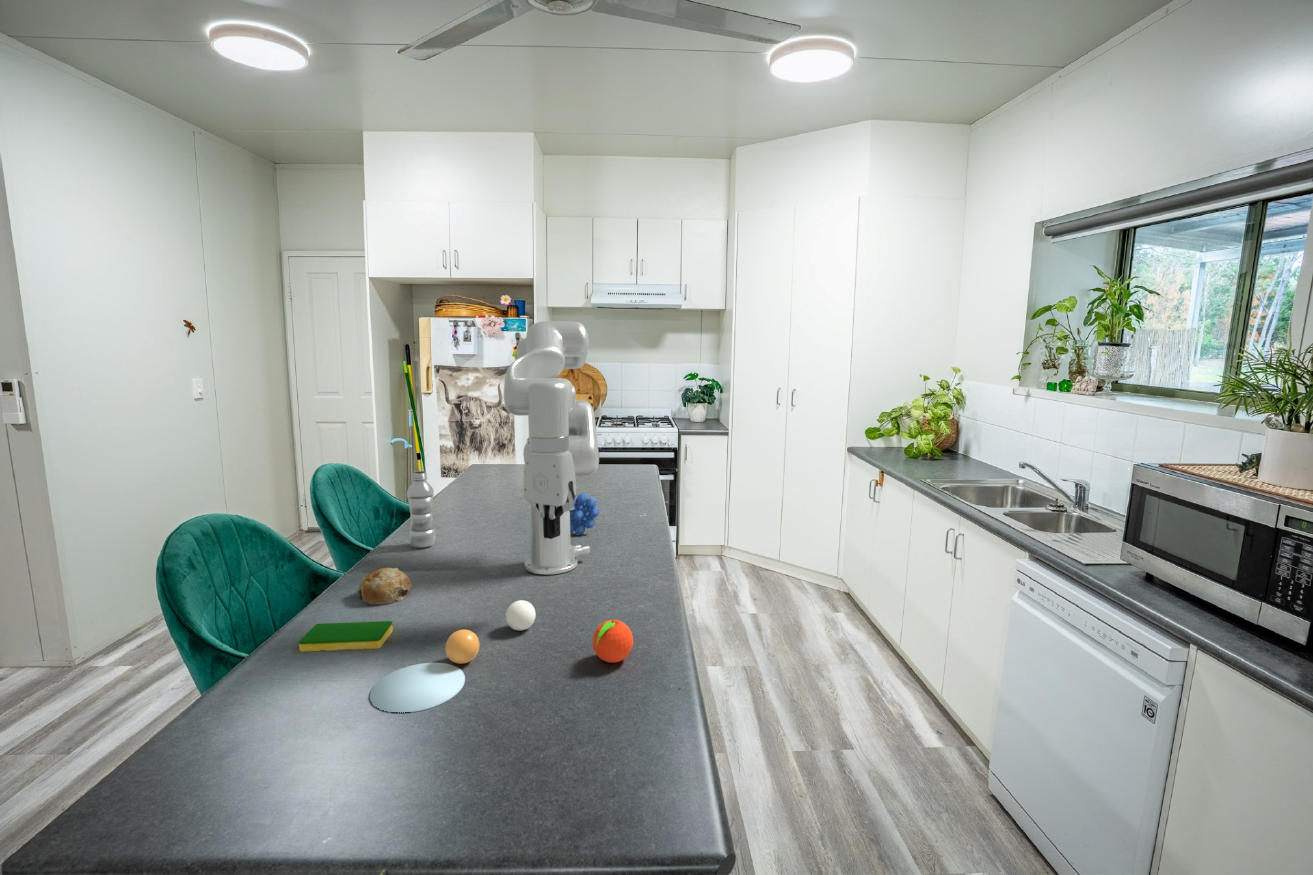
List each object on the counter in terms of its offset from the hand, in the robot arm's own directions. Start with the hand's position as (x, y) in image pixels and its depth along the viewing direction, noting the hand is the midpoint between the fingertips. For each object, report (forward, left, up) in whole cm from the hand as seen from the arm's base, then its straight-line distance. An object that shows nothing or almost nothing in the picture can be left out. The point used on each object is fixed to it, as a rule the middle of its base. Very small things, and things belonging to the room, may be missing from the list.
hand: (552, 536), depth 122 cm
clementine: (-2, +23, -16) cm, 28 cm away
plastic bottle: (+17, -55, -16) cm, 59 cm away
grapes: (-23, -45, -16) cm, 53 cm away
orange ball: (+20, +11, -13) cm, 26 cm away
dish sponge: (+37, -7, -16) cm, 41 cm away
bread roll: (+29, -25, -16) cm, 42 cm away
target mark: (+28, +16, -16) cm, 36 cm away
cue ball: (+8, +4, -13) cm, 16 cm away
